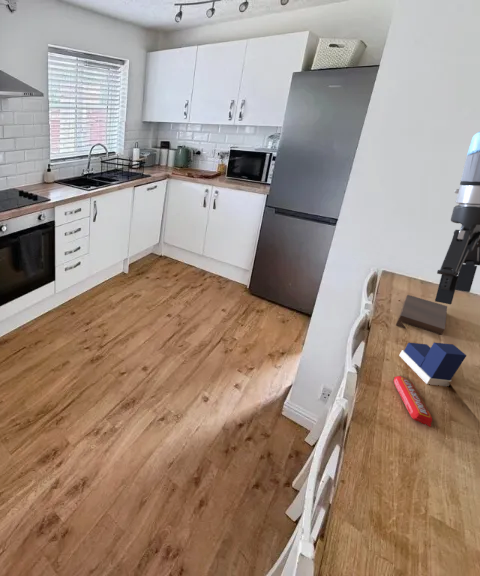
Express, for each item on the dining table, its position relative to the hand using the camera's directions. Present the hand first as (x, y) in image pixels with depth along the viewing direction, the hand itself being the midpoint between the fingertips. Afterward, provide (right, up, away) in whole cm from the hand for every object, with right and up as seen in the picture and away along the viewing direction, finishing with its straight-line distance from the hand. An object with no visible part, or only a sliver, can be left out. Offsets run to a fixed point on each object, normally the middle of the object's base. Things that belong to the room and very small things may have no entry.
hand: (452, 296), depth 87 cm
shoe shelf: (+24, -9, +36) cm, 44 cm away
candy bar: (-9, -26, +2) cm, 28 cm away
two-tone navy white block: (+4, -20, +13) cm, 24 cm away
